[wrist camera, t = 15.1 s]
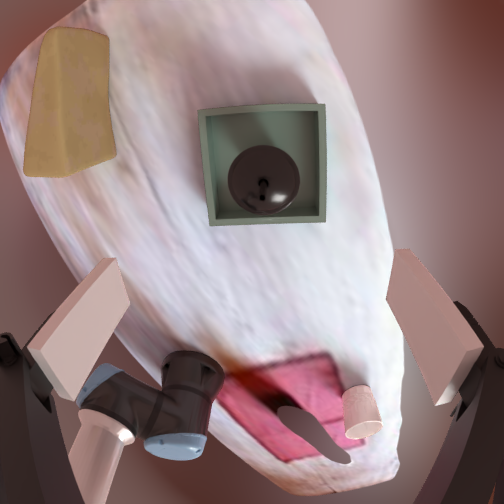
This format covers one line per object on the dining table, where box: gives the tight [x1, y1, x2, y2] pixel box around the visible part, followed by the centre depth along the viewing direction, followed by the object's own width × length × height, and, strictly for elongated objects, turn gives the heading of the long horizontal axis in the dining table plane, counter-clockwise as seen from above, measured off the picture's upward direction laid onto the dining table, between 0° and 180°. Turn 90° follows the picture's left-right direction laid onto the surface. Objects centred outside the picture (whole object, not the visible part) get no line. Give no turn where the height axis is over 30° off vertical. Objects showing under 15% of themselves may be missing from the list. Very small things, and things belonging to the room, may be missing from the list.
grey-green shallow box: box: [198, 104, 327, 226], centre depth 41 cm, size 17×17×5 cm
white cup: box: [342, 385, 383, 439], centre depth 62 cm, size 9×10×12 cm
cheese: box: [23, 27, 116, 178], centre depth 32 cm, size 22×10×15 cm, turn 173°
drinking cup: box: [227, 145, 300, 215], centre depth 33 cm, size 8×8×20 cm
